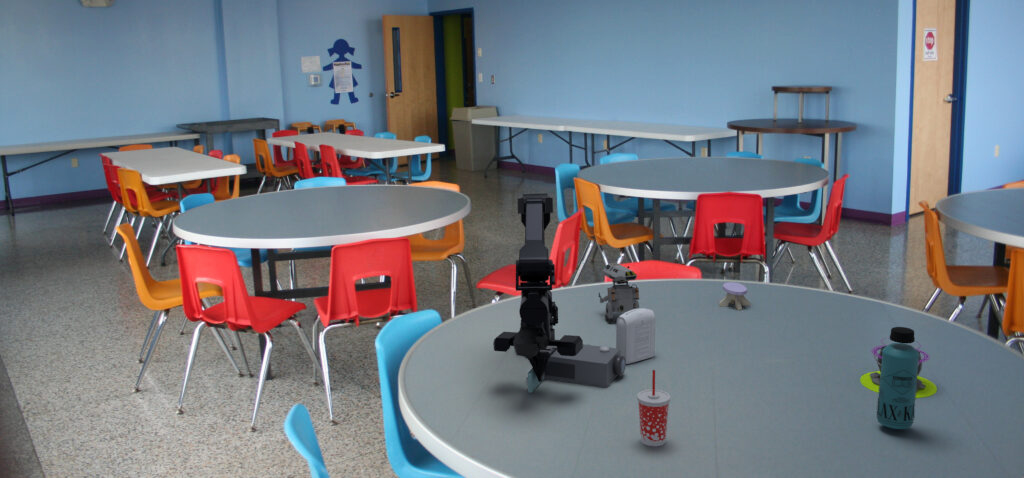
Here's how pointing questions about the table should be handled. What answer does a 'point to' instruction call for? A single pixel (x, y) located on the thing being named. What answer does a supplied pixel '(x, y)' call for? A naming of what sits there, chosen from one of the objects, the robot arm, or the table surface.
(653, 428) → the beverage cup
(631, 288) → the figurine
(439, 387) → the table surface
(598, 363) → the box
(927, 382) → the toy cauldron
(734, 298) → the toy table
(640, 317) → the photo printer
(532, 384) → the side door
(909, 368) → the beverage bottle
